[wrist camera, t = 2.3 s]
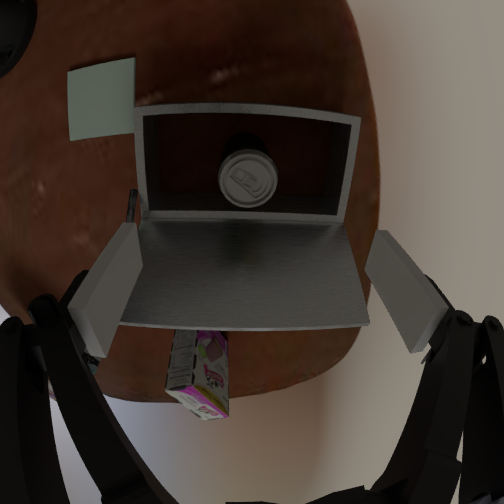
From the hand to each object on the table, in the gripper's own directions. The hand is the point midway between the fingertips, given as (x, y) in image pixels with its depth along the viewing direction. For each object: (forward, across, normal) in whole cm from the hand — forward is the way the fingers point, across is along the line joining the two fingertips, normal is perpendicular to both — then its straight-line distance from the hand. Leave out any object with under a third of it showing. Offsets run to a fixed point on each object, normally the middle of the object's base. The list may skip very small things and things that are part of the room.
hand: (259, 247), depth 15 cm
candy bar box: (+23, -6, -31) cm, 39 cm away
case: (+23, -1, -2) cm, 23 cm away
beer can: (+23, 0, 0) cm, 23 cm away
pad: (+22, -19, +8) cm, 31 cm away
